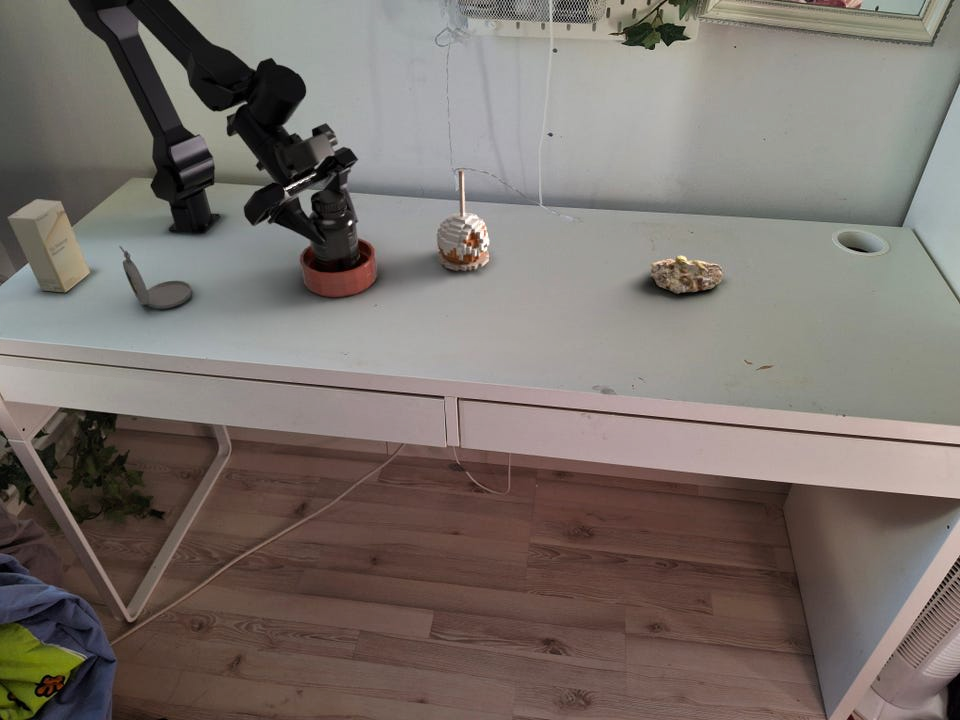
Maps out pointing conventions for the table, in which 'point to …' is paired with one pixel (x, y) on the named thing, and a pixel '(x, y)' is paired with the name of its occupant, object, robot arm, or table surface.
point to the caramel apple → (463, 238)
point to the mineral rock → (686, 275)
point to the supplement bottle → (334, 233)
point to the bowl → (340, 274)
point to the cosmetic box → (49, 245)
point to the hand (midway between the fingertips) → (339, 233)
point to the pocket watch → (155, 288)
